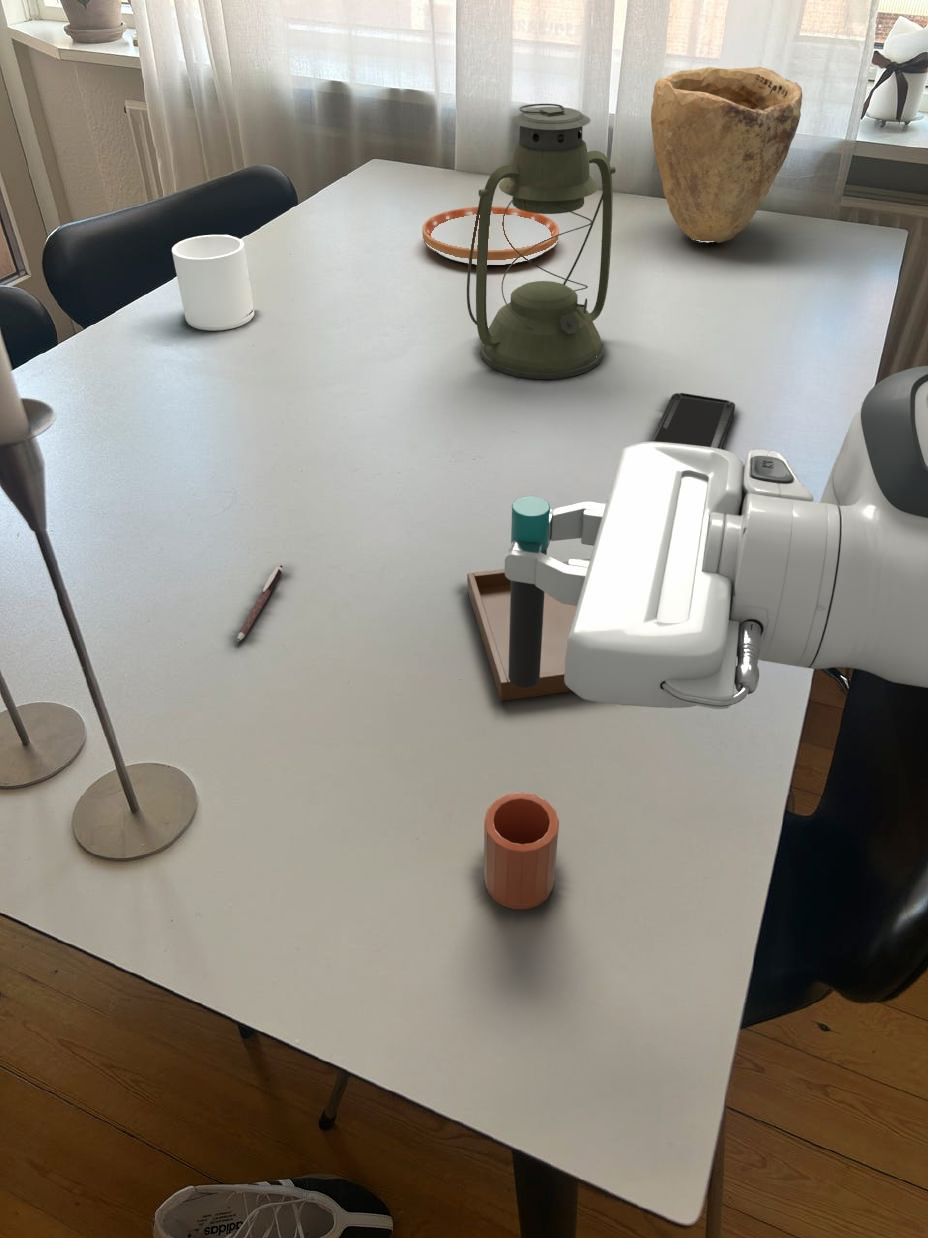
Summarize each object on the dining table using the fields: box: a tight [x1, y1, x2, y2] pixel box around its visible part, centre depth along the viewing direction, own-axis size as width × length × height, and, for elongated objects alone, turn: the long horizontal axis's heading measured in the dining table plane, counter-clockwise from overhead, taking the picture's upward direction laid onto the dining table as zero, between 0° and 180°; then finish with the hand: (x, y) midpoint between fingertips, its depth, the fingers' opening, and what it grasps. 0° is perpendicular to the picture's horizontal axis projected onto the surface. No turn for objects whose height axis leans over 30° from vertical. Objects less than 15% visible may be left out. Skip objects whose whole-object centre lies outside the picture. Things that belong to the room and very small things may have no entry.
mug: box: [171, 234, 255, 332], centre depth 140 cm, size 13×10×10 cm
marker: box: [508, 495, 551, 688], centre depth 57 cm, size 2×2×13 cm
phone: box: [648, 392, 736, 449], centre depth 114 cm, size 8×1×15 cm
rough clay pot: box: [650, 66, 803, 244], centre depth 157 cm, size 22×22×25 cm
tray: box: [466, 558, 590, 702], centre depth 87 cm, size 19×15×2 cm
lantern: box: [466, 103, 617, 380], centre depth 123 cm, size 21×18×30 cm
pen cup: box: [483, 791, 560, 910], centre depth 65 cm, size 5×5×6 cm
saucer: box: [421, 205, 560, 260], centre depth 163 cm, size 23×23×4 cm
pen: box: [236, 564, 283, 642], centre depth 90 cm, size 11×1×1 cm, turn 168°
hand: (514, 541), depth 55 cm, fingers closed on marker, 2 cm apart
